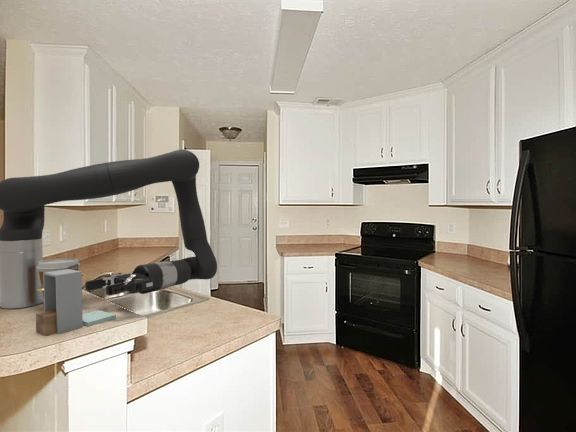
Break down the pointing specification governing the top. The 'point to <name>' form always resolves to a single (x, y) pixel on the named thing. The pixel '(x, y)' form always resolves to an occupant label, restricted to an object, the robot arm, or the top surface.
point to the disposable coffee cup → (55, 266)
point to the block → (46, 322)
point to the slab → (97, 317)
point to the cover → (64, 298)
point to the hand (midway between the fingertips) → (96, 288)
